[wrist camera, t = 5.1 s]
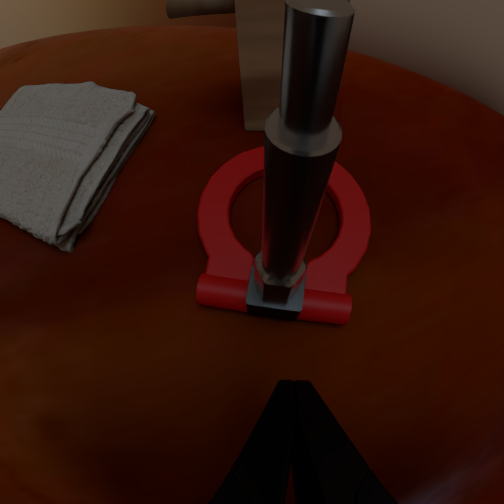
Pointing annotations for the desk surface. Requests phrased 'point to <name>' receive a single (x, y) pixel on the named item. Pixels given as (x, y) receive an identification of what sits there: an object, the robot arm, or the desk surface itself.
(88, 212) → the washcloth
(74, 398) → the desk surface
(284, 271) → the tow hook
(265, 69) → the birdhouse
